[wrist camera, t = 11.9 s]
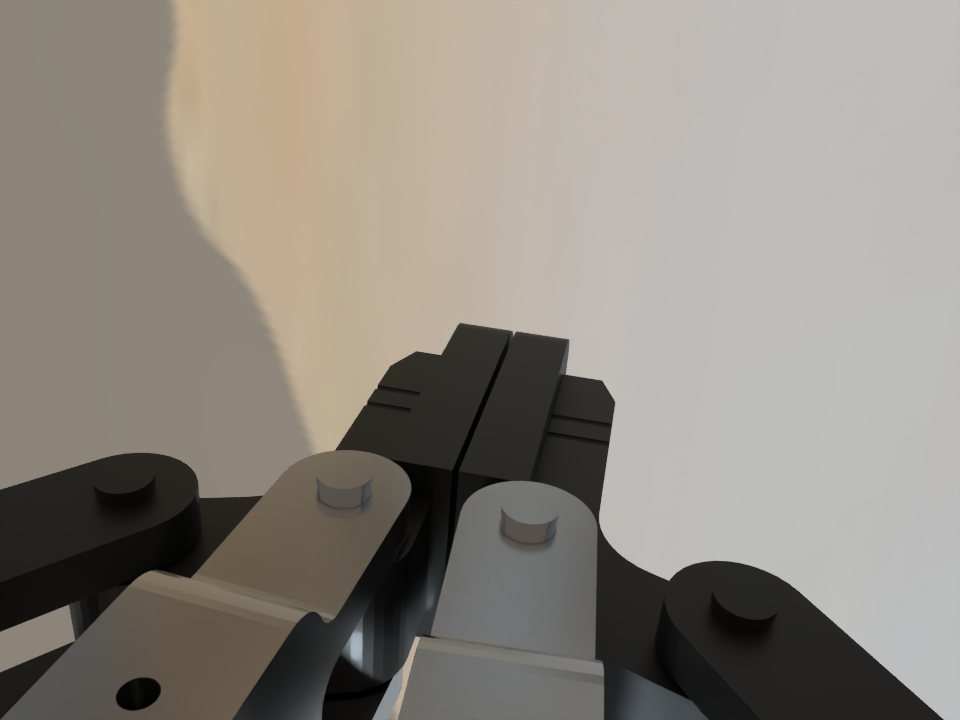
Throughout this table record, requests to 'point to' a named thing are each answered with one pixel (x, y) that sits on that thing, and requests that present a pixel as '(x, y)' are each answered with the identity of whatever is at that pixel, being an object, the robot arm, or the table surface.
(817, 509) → the table surface
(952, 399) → the table surface
